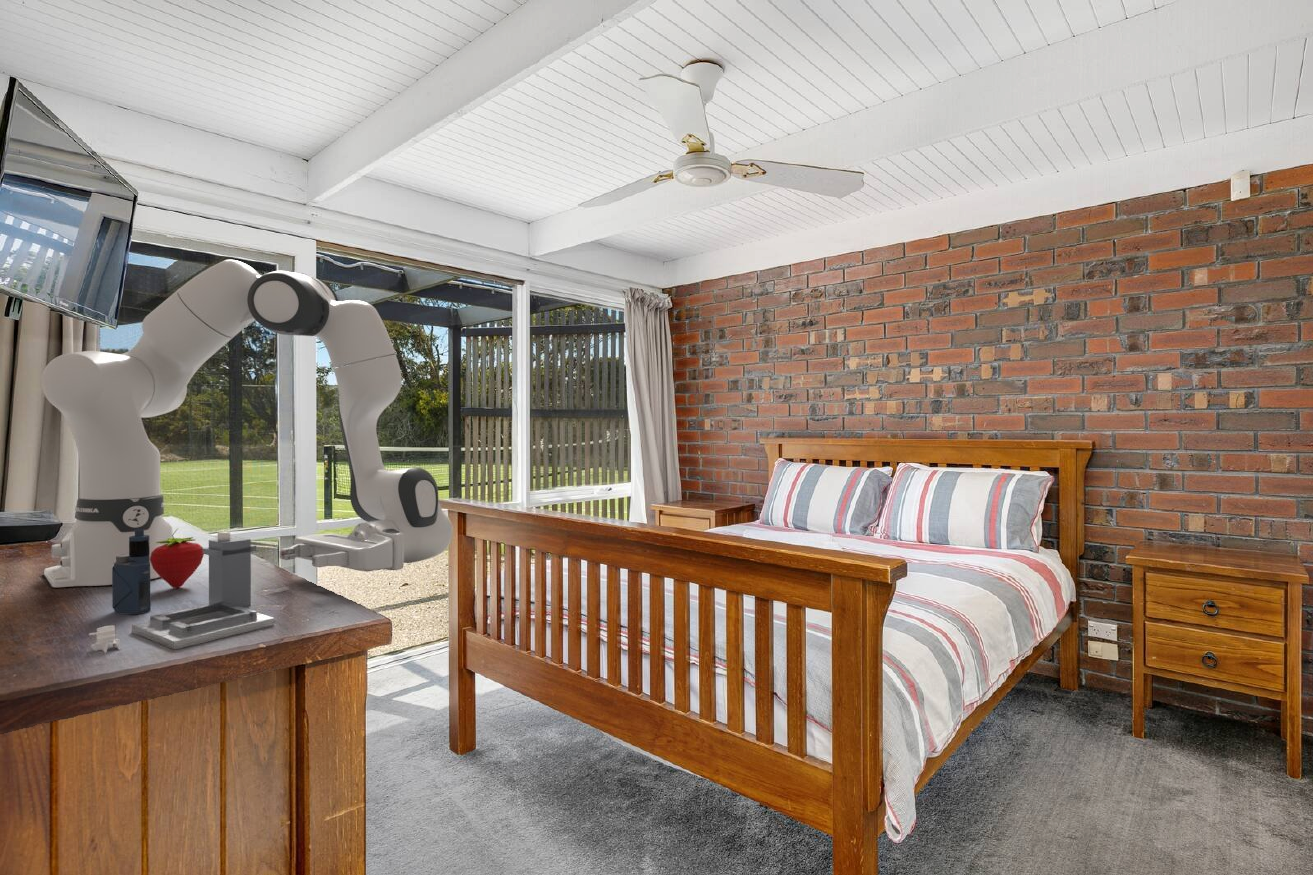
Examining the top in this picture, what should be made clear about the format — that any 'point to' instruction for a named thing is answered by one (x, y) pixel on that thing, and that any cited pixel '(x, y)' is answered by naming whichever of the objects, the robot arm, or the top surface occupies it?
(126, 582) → the vaping device
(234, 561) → the block
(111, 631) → the power adapter
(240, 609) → the plate
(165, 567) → the strawberry
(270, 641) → the top surface
